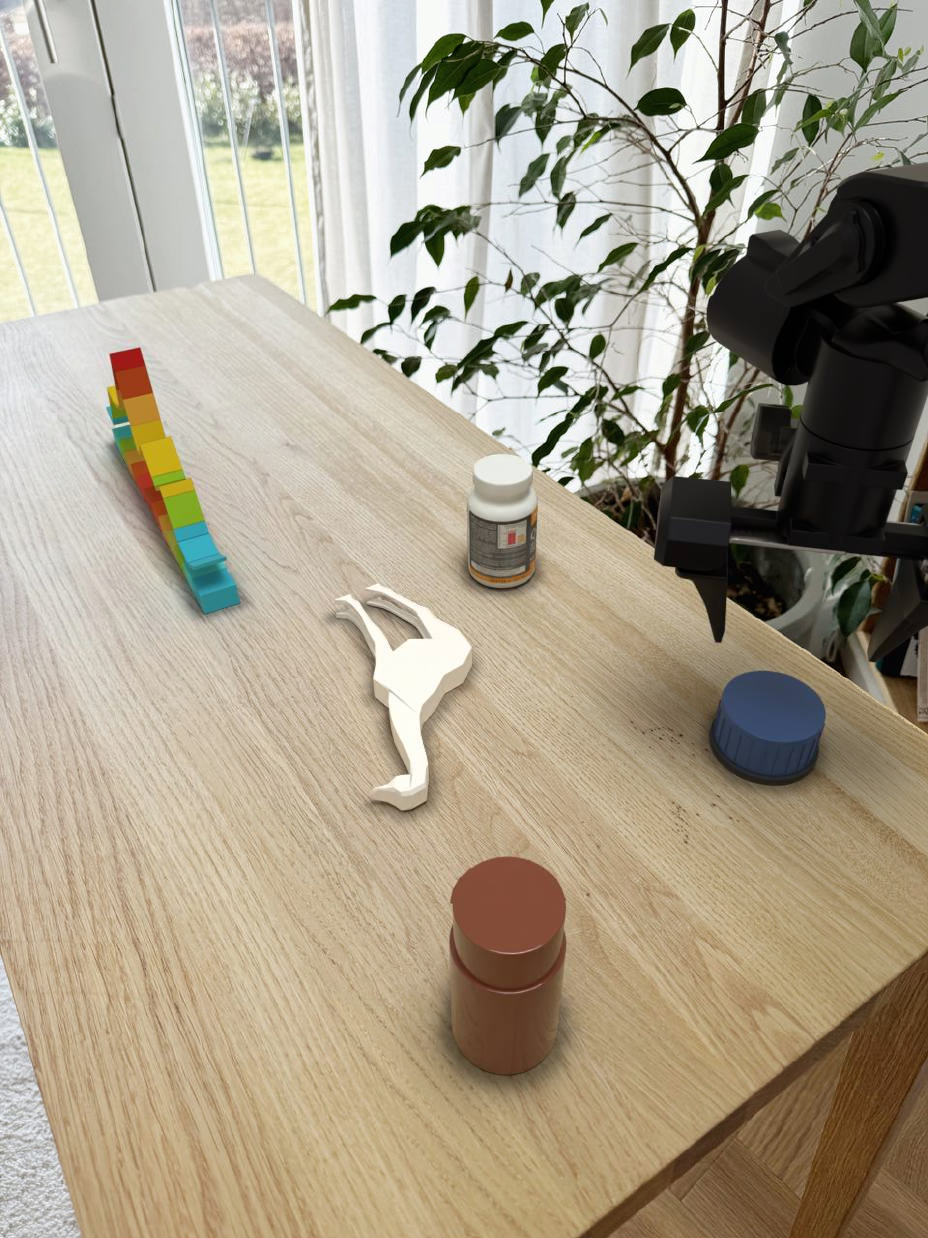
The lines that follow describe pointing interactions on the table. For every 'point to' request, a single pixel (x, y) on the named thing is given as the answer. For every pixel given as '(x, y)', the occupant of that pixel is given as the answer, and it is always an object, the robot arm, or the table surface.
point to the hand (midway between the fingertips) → (793, 647)
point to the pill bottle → (502, 521)
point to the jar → (506, 963)
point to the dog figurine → (410, 684)
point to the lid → (769, 722)
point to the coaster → (754, 776)
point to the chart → (165, 482)
